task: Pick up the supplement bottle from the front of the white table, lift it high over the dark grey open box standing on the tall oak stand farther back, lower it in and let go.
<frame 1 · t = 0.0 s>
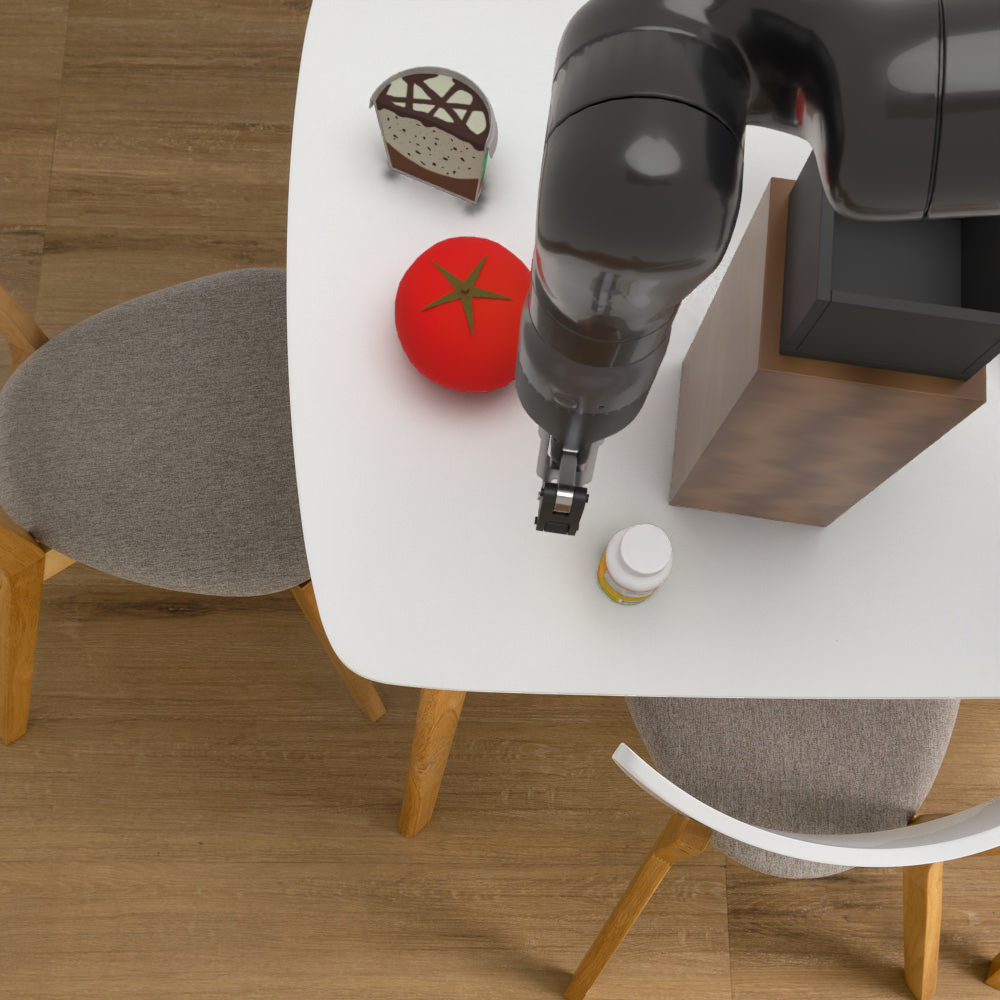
hand: (562, 452, 66), 20 cm above the table, tool pointing down, fingers open, 8 cm apart
stand: (752, 443, 88), on the table
supplement bottle: (626, 576, 84), on the table
dark grey open box: (875, 285, 61), resting on stand
tomato: (467, 342, 90), on the table
food container: (446, 164, 96), on the table
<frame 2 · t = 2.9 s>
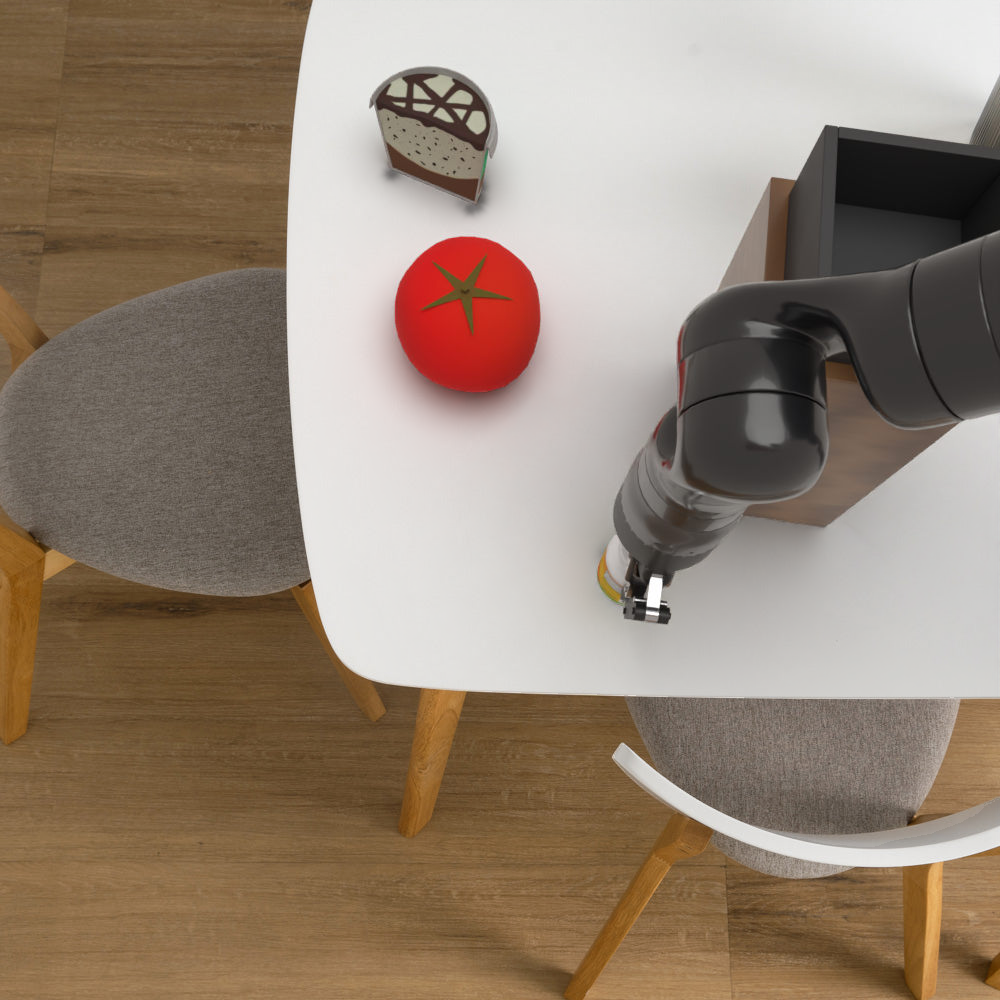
hand: (637, 561, 78), 5 cm above the table, tool pointing down, fingers closed on supplement bottle, 5 cm apart
supplement bottle: (626, 576, 84), on the table, touching gripper
everything else where it was.
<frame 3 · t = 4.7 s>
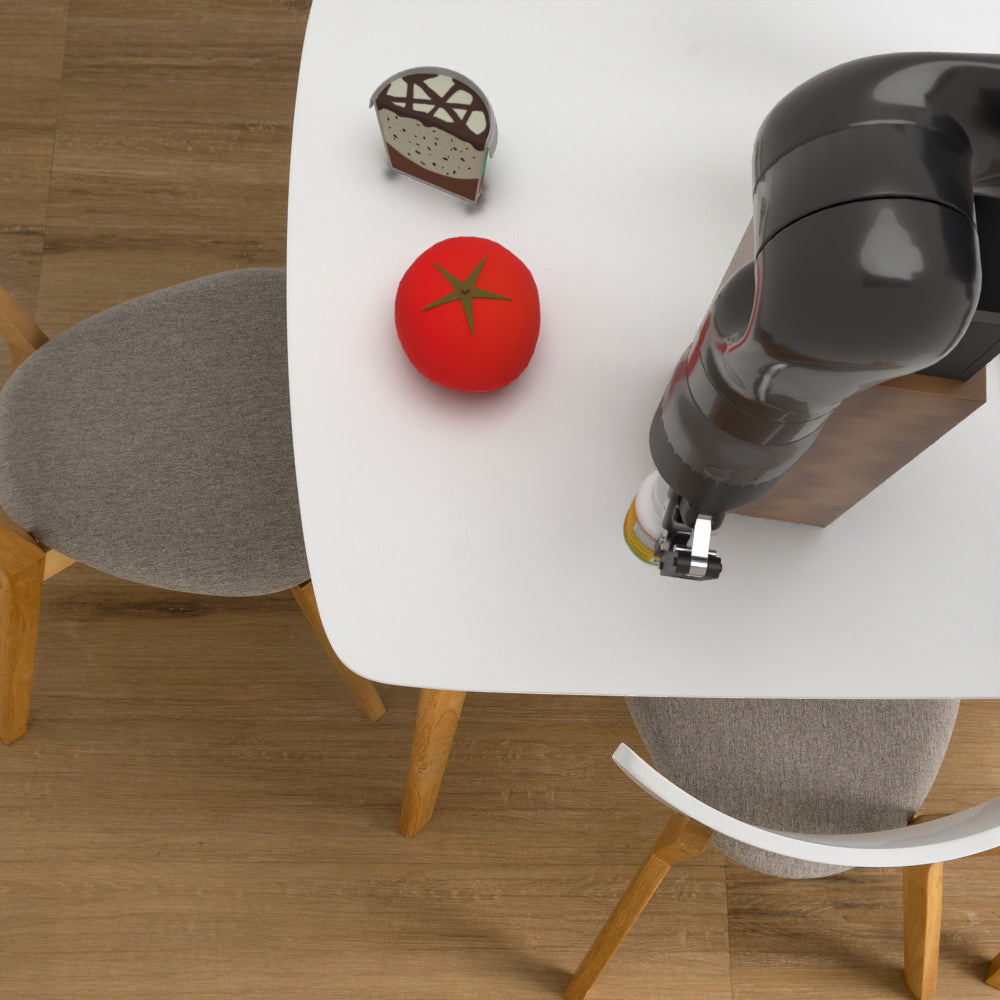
hand: (673, 509, 65), 20 cm above the table, tool pointing down, fingers closed on supplement bottle, 5 cm apart
supplement bottle: (658, 532, 70), point 14 cm above the table, touching gripper
everything else where it was.
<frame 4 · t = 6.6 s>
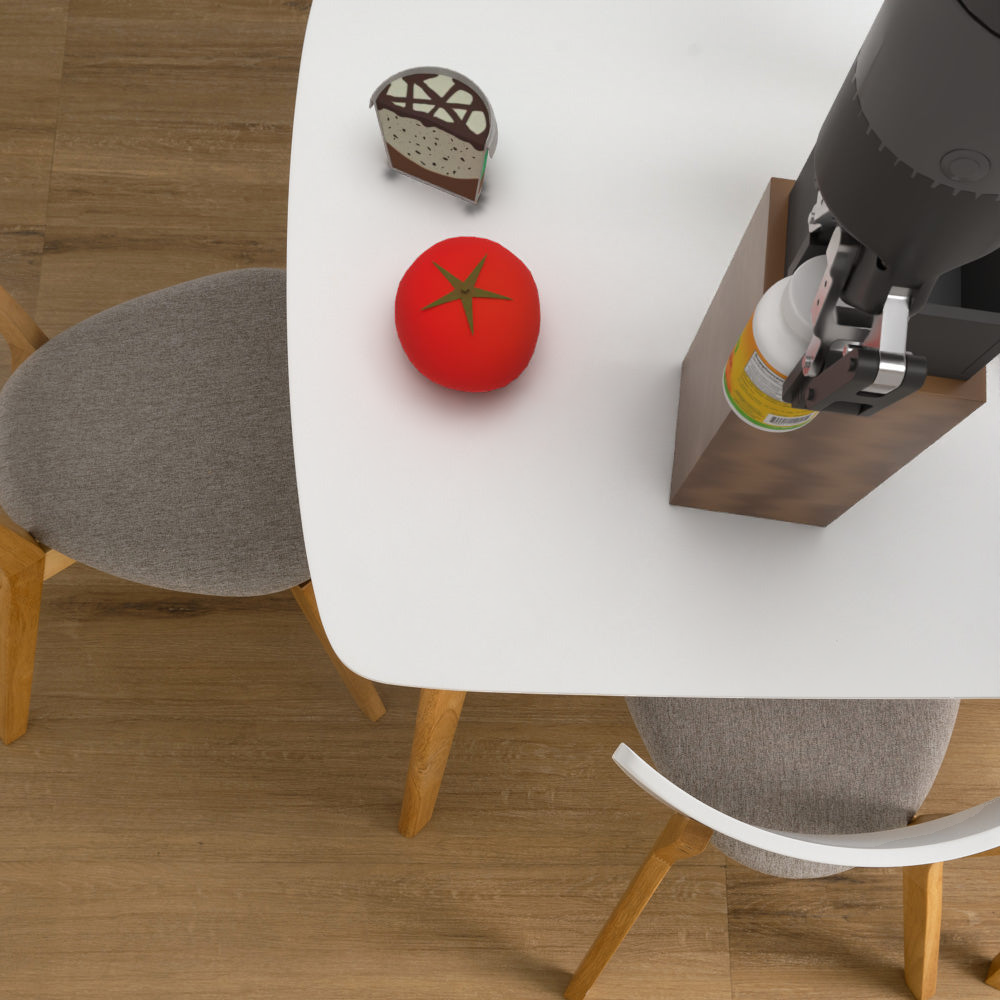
hand: (806, 338, 45), 41 cm above the table, tool pointing down, fingers closed on supplement bottle, 5 cm apart
supplement bottle: (770, 388, 51), point 35 cm above the table, touching gripper
everything else where it was.
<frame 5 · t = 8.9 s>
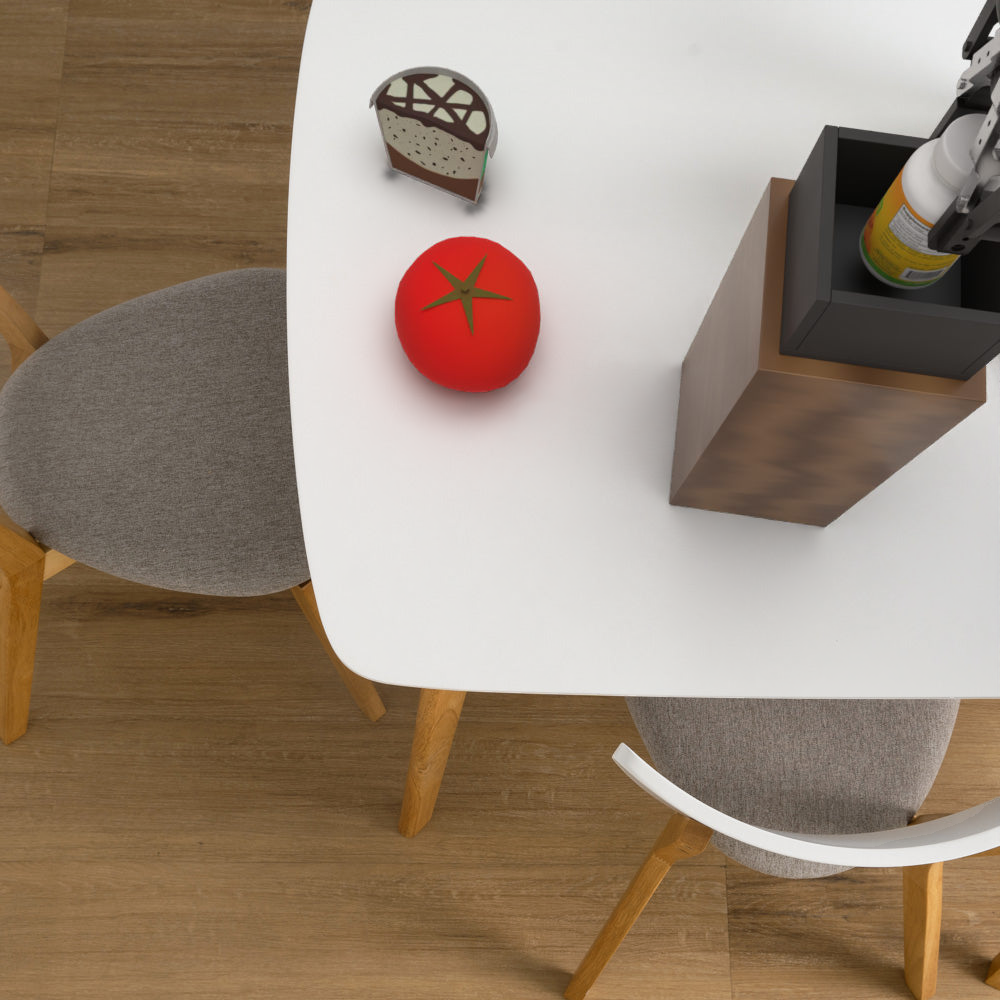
hand: (945, 196, 52), 37 cm above the table, tool pointing down, fingers closed on supplement bottle, 5 cm apart
supplement bottle: (900, 254, 57), point 32 cm above the table, touching gripper
everything else where it was.
when the fingers open (34 cm above the table, at t = 10.4 s): supplement bottle stays where it is, resting on dark grey open box.
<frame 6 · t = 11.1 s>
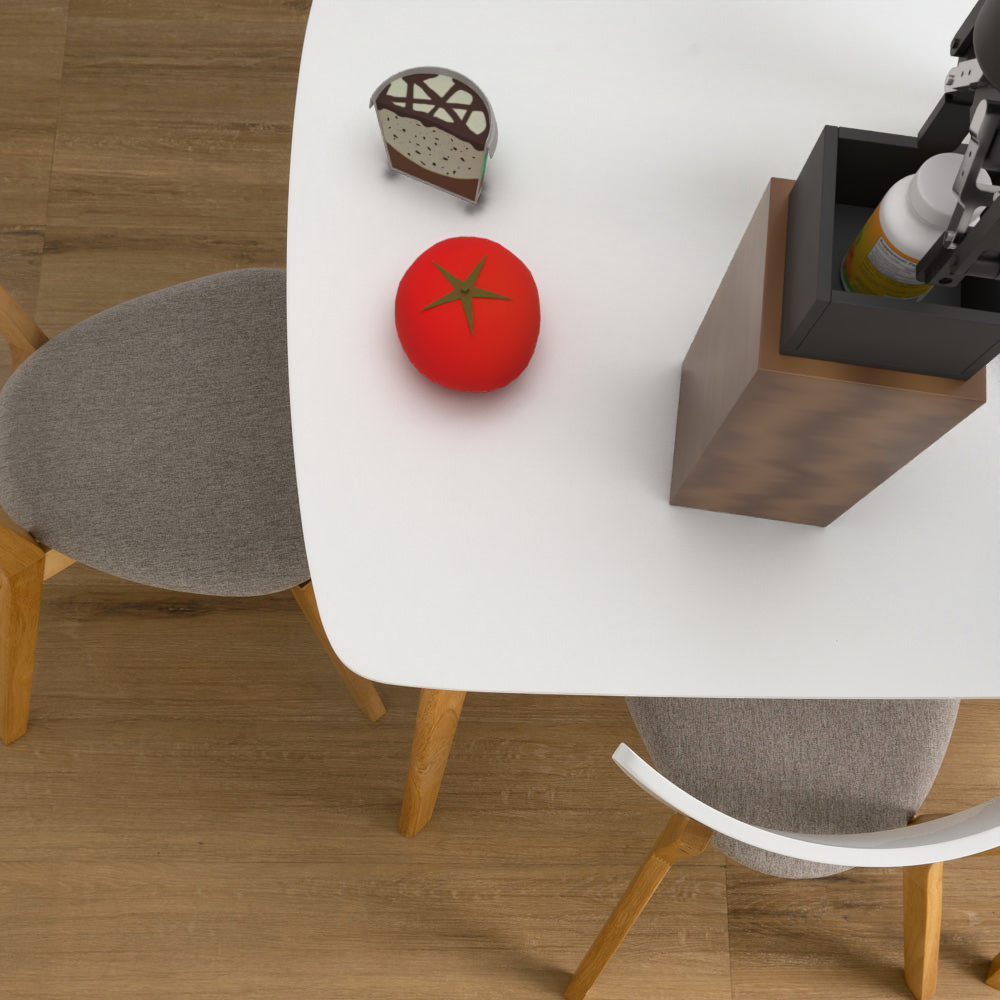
hand: (933, 210, 53), 36 cm above the table, tool pointing down, fingers open, 8 cm apart
supplement bottle: (879, 280, 60), point 29 cm above the table, touching dark grey open box
everything else where it was.
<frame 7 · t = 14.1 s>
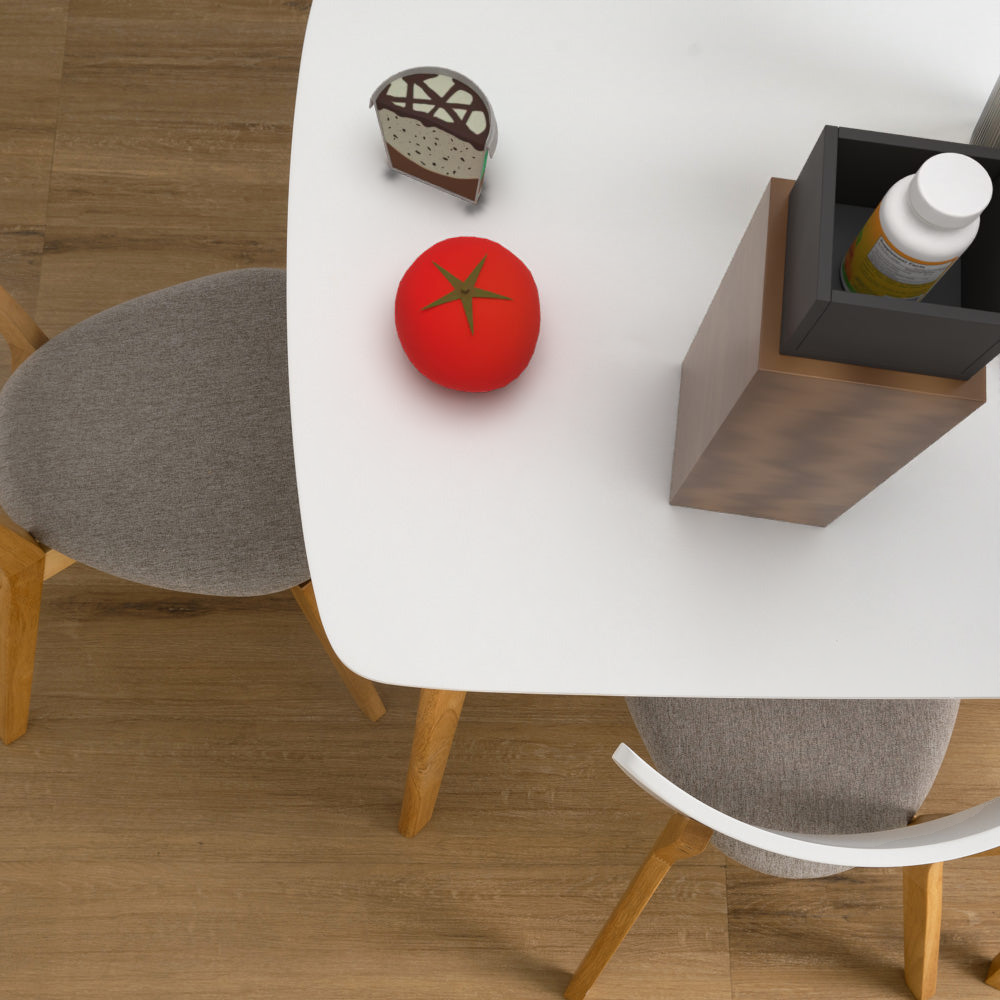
nothing on the table moved.
at the end: supplement bottle inside the target area on the dark grey open box (0.0 cm from its centre), point 0.6 cm above the dark grey open box's base; the gripper is holding nothing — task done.
